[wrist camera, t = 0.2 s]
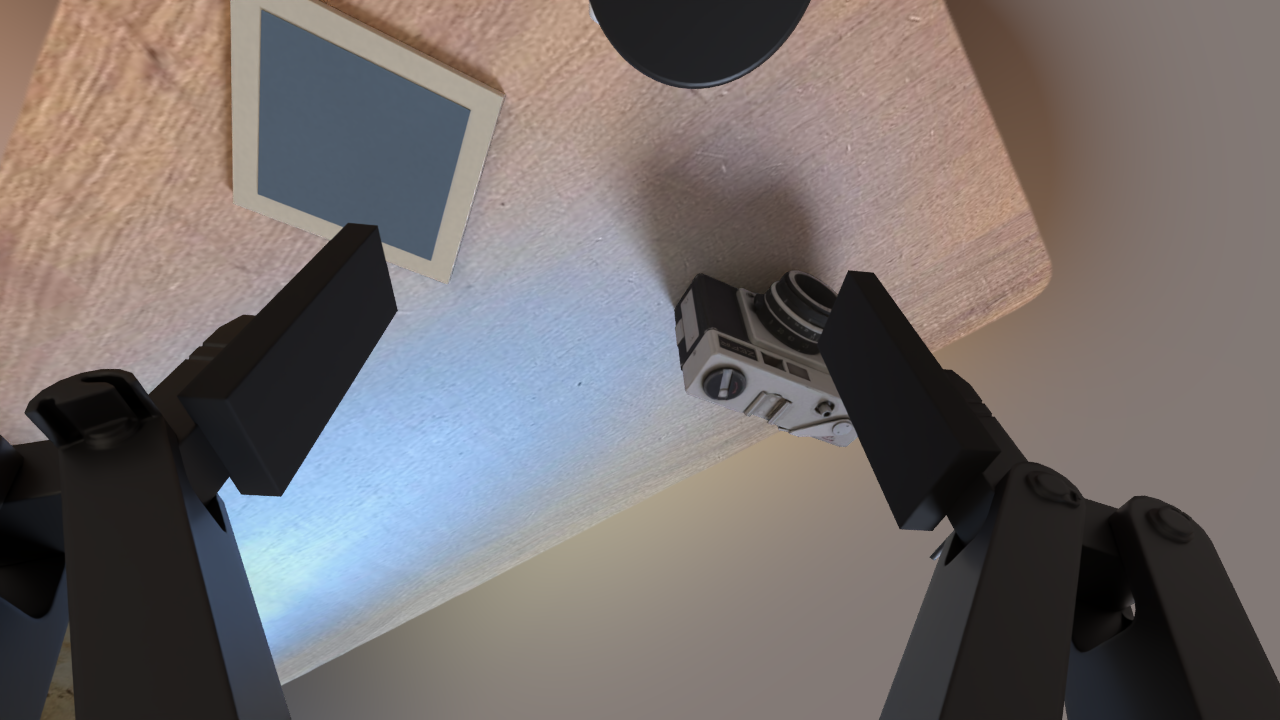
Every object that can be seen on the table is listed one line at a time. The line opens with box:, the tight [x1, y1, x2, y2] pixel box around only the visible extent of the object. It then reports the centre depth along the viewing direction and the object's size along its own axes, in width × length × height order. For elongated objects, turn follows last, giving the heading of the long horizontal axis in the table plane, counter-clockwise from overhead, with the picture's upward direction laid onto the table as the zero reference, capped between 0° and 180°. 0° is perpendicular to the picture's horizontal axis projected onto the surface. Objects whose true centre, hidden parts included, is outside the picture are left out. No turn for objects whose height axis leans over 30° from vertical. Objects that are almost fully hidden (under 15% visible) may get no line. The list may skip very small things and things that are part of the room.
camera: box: [674, 270, 858, 447], centre depth 36 cm, size 14×9×10 cm, turn 57°
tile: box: [230, 0, 506, 284], centre depth 32 cm, size 14×14×1 cm
